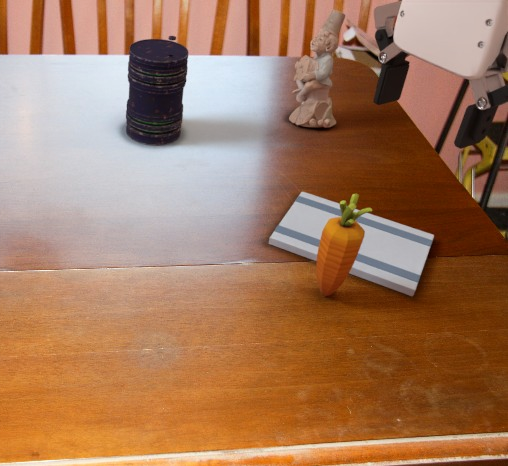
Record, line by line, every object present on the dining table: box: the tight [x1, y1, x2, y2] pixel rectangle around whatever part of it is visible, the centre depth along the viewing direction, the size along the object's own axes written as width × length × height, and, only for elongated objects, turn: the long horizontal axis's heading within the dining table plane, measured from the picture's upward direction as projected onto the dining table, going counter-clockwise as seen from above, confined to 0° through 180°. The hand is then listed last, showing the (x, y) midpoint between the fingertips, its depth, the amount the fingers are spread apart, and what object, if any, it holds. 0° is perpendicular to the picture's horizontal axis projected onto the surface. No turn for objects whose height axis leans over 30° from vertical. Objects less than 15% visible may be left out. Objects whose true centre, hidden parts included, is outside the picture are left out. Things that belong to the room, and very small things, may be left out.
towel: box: [268, 191, 435, 297], centre depth 92 cm, size 20×14×1 cm
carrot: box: [315, 193, 373, 297], centre depth 79 cm, size 5×5×15 cm
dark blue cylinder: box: [125, 35, 189, 146], centre depth 110 cm, size 10×10×18 cm
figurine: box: [288, 9, 346, 128], centre depth 116 cm, size 9×8×20 cm
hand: (424, 122), depth 62 cm, fingers open, 9 cm apart
